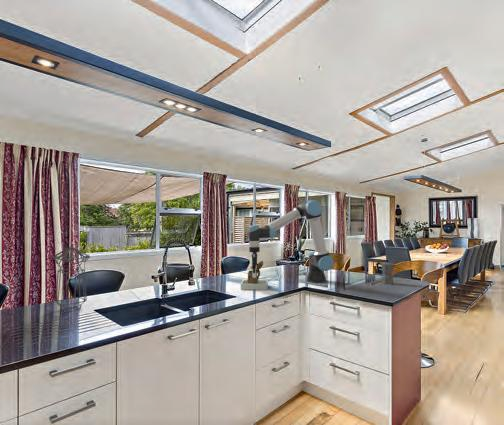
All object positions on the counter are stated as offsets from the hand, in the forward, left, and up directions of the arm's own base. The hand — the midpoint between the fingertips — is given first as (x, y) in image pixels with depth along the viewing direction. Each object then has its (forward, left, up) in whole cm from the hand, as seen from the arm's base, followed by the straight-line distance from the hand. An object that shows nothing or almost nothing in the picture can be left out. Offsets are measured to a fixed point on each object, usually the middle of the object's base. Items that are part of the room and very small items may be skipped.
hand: (254, 275), depth 234 cm
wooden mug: (0, -1, -8) cm, 8 cm away
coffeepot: (-100, -20, -9) cm, 102 cm away
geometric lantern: (+99, +62, -9) cm, 117 cm away
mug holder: (0, 0, -9) cm, 9 cm away
